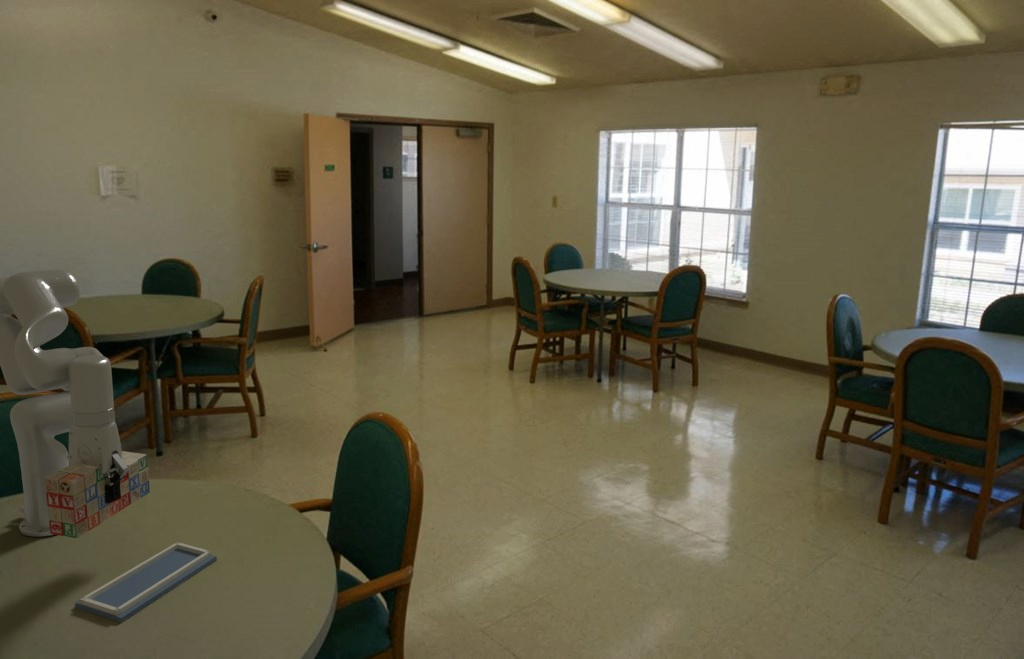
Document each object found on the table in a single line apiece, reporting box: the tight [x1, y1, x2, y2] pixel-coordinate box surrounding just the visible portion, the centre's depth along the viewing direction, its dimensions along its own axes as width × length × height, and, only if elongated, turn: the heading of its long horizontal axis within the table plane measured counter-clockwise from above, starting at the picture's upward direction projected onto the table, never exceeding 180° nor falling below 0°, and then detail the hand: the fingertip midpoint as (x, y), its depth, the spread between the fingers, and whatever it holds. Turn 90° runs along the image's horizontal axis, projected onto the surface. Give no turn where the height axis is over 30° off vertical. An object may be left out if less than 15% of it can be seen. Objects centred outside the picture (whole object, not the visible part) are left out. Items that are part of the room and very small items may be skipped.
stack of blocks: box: [45, 450, 151, 539], centre depth 155 cm, size 21×6×12 cm, turn 168°
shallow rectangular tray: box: [74, 541, 217, 623], centre depth 154 cm, size 12×25×2 cm, turn 159°
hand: (100, 496), depth 155 cm, fingers closed on stack of blocks, 6 cm apart
